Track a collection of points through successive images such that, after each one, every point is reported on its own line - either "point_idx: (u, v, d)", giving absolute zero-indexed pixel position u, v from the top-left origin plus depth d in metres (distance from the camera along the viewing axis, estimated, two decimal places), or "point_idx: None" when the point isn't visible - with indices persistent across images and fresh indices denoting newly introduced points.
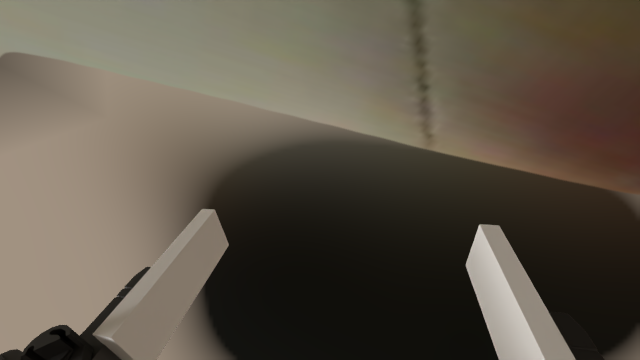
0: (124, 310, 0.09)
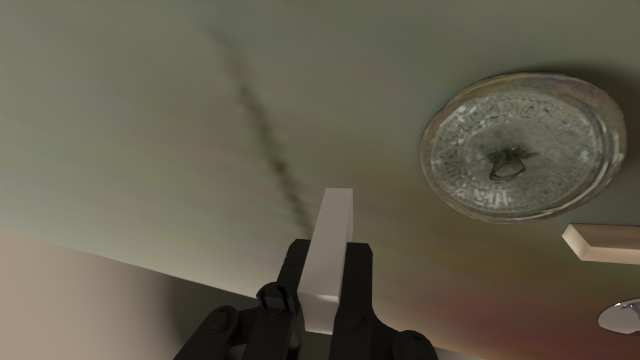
0: (313, 272, 0.10)
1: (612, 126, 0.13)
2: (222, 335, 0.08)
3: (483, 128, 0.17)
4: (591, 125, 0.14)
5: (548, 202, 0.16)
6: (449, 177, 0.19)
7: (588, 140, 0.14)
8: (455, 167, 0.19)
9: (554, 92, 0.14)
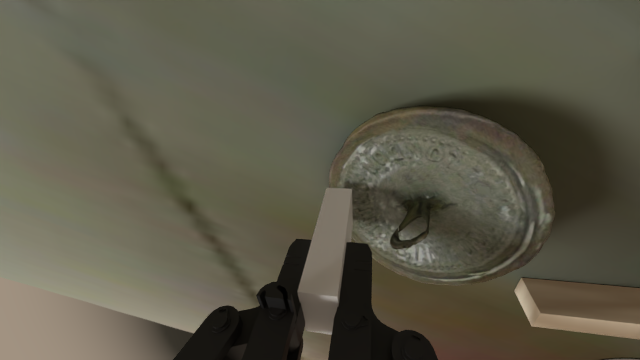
0: (313, 272, 0.10)
1: (531, 179, 0.10)
2: (222, 335, 0.08)
3: (391, 171, 0.13)
4: (506, 176, 0.10)
5: (474, 264, 0.13)
6: (366, 225, 0.16)
7: (506, 194, 0.11)
8: (370, 214, 0.15)
9: (455, 134, 0.10)
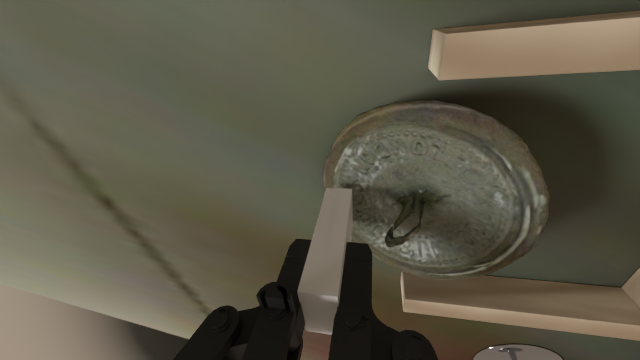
0: (313, 272, 0.10)
1: (517, 161, 0.10)
2: (222, 335, 0.08)
3: (381, 170, 0.13)
4: (492, 161, 0.10)
5: (477, 256, 0.12)
6: (366, 226, 0.16)
7: (496, 180, 0.10)
8: (369, 214, 0.15)
9: (434, 125, 0.10)
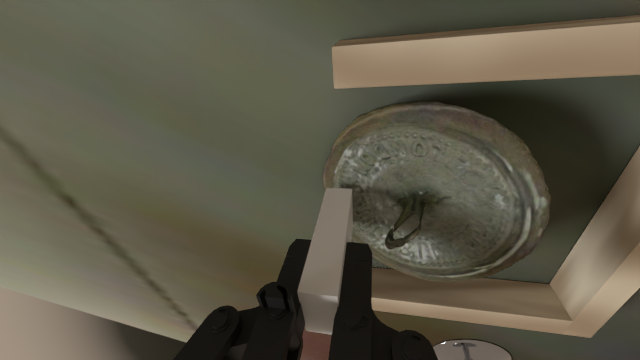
0: (313, 272, 0.10)
1: (518, 163, 0.10)
2: (222, 335, 0.08)
3: (381, 171, 0.13)
4: (492, 163, 0.10)
5: (478, 258, 0.12)
6: (366, 227, 0.16)
7: (496, 181, 0.10)
8: (369, 216, 0.15)
9: (434, 127, 0.10)
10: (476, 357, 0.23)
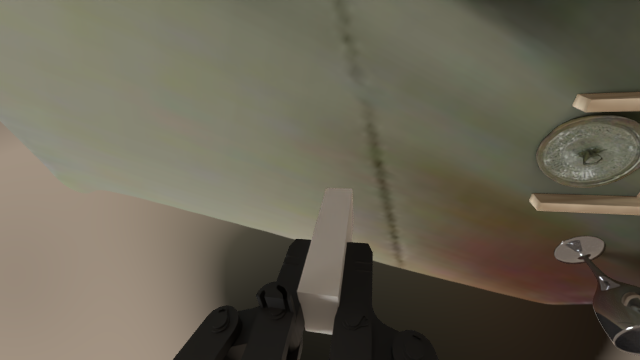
0: (313, 272, 0.10)
1: None
2: (222, 335, 0.08)
3: (574, 141, 0.34)
4: (631, 134, 0.31)
5: (616, 172, 0.33)
6: (555, 167, 0.36)
7: (631, 141, 0.31)
8: (558, 161, 0.36)
9: (610, 123, 0.31)
10: (587, 246, 0.43)
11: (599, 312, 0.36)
